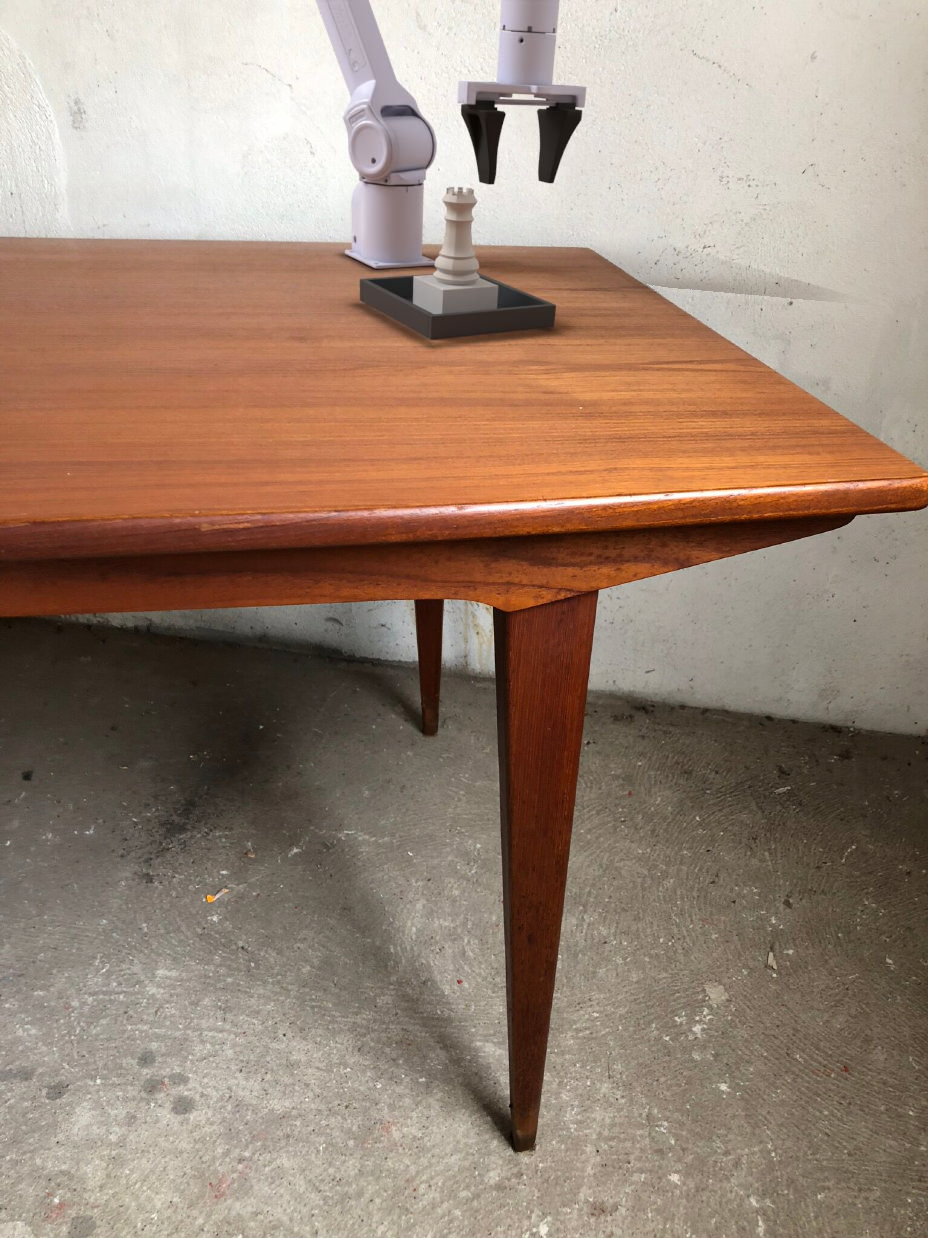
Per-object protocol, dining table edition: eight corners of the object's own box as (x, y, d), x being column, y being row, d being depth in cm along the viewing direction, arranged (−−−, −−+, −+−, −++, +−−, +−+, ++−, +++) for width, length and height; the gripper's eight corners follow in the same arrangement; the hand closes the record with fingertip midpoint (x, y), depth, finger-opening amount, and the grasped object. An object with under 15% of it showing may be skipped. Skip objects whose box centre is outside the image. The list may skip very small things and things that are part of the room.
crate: (359, 305, 91) (359, 278, 90) (472, 296, 97) (474, 270, 96) (430, 346, 80) (431, 316, 79) (553, 332, 86) (556, 304, 85)
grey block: (412, 307, 89) (413, 275, 88) (465, 303, 92) (467, 272, 90) (441, 322, 85) (443, 289, 83) (496, 317, 87) (498, 285, 86)
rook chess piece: (474, 287, 84) (479, 193, 80) (427, 283, 85) (430, 189, 81) (483, 277, 88) (488, 187, 84) (438, 273, 89) (441, 183, 85)
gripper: (486, 28, 85) (477, 188, 92) (610, 37, 91) (593, 186, 98) (449, 27, 90) (444, 179, 97) (569, 36, 96) (555, 177, 103)
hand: (516, 182), depth 98 cm, fingers open, 7 cm apart
